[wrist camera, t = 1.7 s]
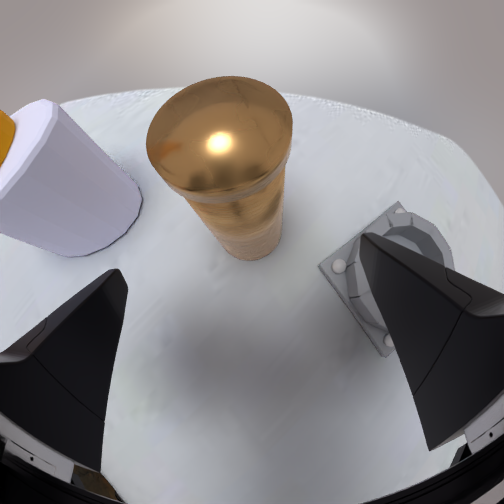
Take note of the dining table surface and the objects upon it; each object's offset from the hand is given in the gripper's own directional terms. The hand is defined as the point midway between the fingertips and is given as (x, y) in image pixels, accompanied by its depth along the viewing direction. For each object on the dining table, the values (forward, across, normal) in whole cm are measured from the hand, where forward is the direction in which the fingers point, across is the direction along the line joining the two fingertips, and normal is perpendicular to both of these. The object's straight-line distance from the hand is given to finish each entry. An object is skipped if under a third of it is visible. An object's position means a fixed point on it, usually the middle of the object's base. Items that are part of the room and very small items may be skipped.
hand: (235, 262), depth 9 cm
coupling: (+11, 0, +5) cm, 12 cm away
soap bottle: (+14, +16, +2) cm, 21 cm away
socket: (+7, -11, +9) cm, 16 cm away
